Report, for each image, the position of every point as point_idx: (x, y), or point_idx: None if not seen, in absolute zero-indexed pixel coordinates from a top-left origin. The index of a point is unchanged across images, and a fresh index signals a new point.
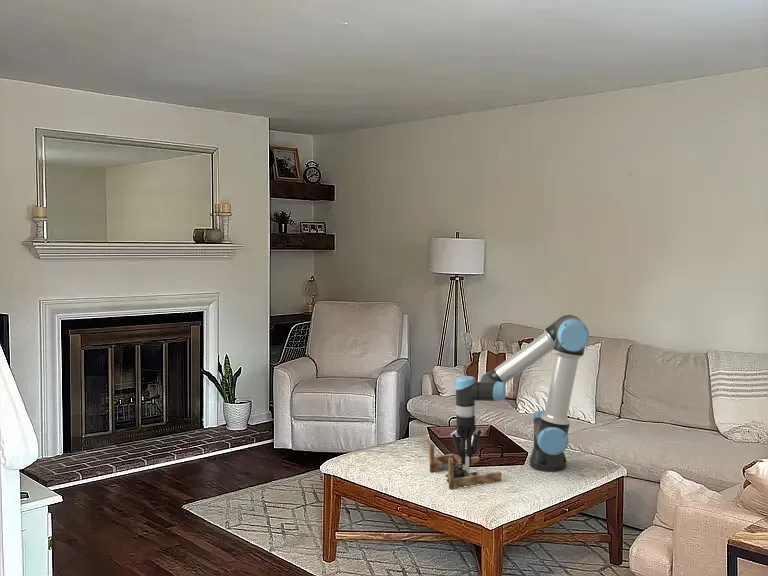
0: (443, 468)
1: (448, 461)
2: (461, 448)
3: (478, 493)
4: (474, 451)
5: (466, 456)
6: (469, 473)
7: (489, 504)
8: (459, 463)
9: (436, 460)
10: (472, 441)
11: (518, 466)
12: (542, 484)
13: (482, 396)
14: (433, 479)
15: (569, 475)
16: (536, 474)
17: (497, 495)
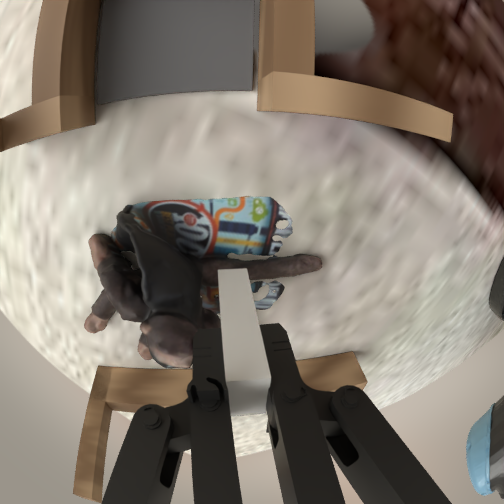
0: (118, 77)
1: (75, 479)
2: (198, 488)
3: None
4: (339, 439)
5: (249, 403)
6: (258, 275)
7: None
8: (168, 358)
9: (44, 48)
10: (400, 500)
11: (493, 236)
12: (413, 381)
13: None
14: (28, 254)
15: (486, 335)
16: (465, 320)
17: (255, 429)
